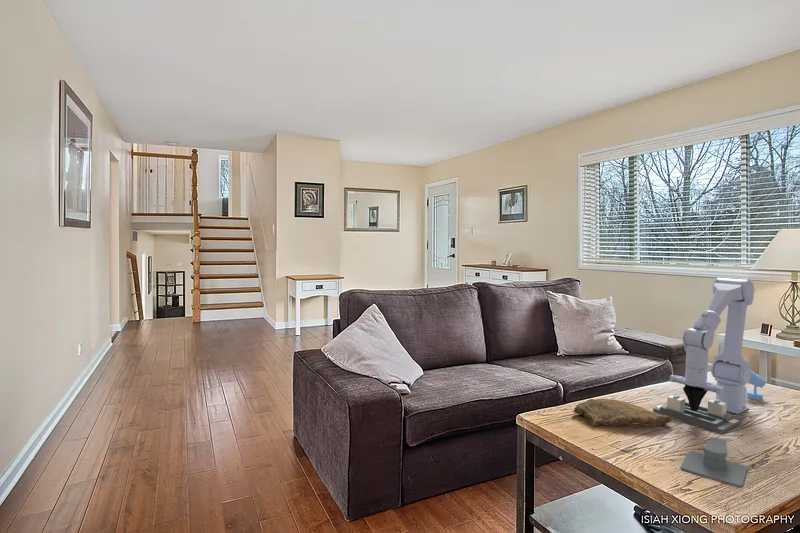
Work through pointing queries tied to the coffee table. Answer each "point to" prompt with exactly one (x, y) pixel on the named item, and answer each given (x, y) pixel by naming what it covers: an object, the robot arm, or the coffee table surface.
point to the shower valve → (715, 464)
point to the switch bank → (701, 418)
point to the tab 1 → (676, 403)
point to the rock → (618, 413)
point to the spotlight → (758, 382)
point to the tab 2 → (717, 407)
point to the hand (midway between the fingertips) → (694, 410)
